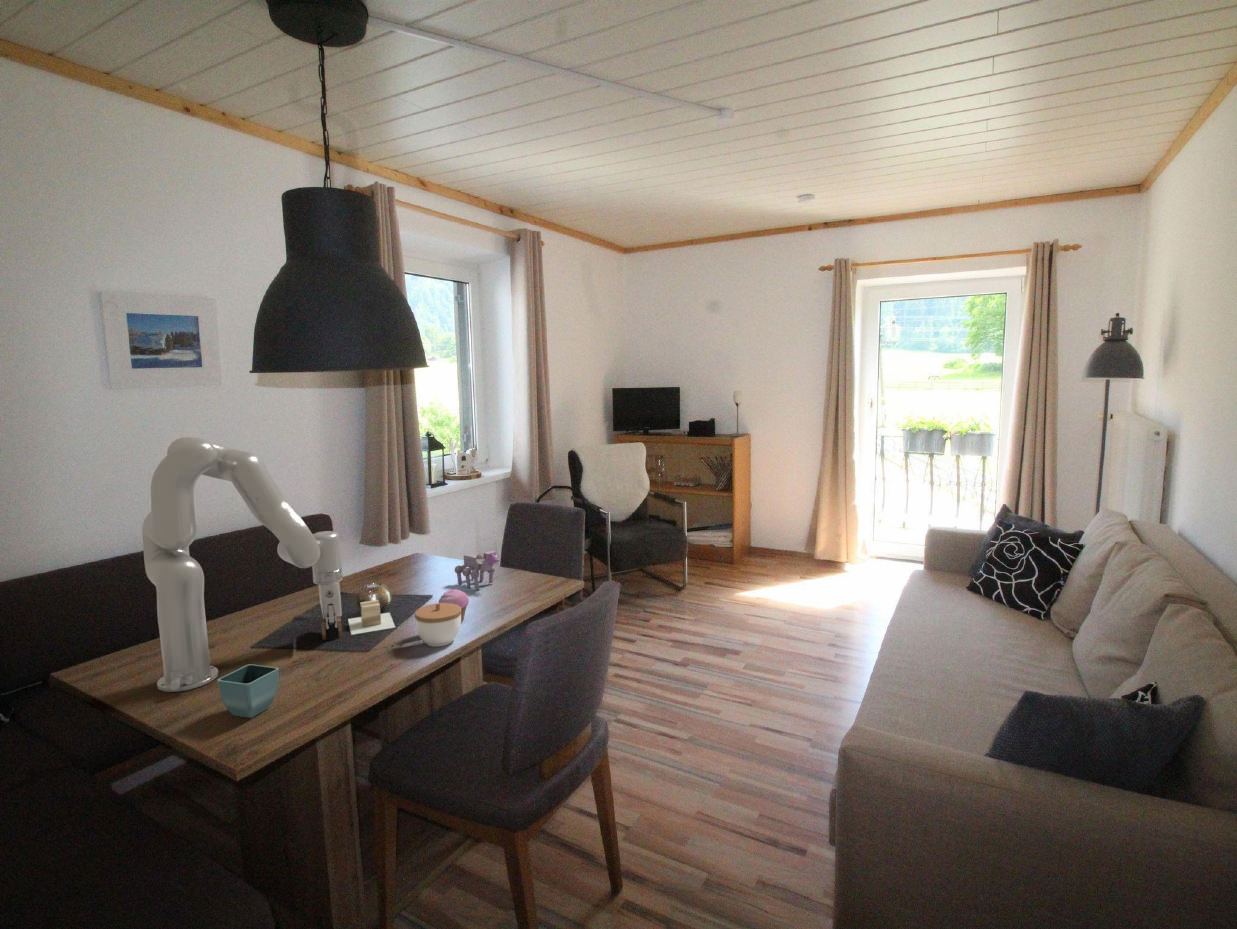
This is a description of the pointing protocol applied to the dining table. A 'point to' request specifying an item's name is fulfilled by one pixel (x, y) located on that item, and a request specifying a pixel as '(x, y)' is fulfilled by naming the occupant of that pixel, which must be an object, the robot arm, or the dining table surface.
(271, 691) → the flower pot
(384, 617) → the plate
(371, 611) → the maple block
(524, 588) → the dining table surface
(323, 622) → the walnut block
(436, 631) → the lidded bowl
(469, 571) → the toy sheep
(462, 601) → the cupcake
